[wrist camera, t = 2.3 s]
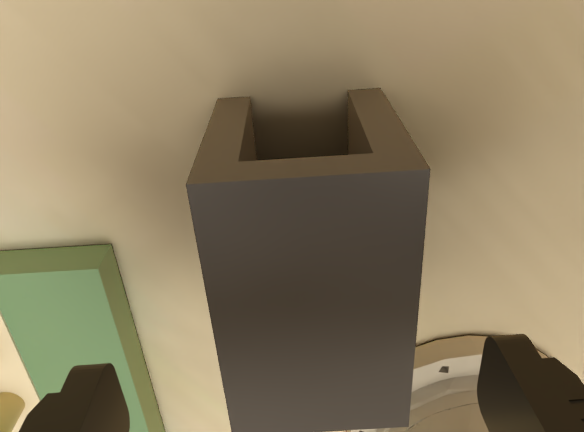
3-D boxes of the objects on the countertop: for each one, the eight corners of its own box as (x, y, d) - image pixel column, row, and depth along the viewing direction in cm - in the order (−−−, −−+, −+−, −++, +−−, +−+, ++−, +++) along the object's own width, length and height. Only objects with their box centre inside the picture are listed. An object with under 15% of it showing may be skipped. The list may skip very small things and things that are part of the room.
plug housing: (217, 98, 16) (185, 184, 10) (380, 87, 15) (430, 169, 10) (245, 300, 19) (232, 436, 14) (374, 293, 19) (408, 426, 14)
